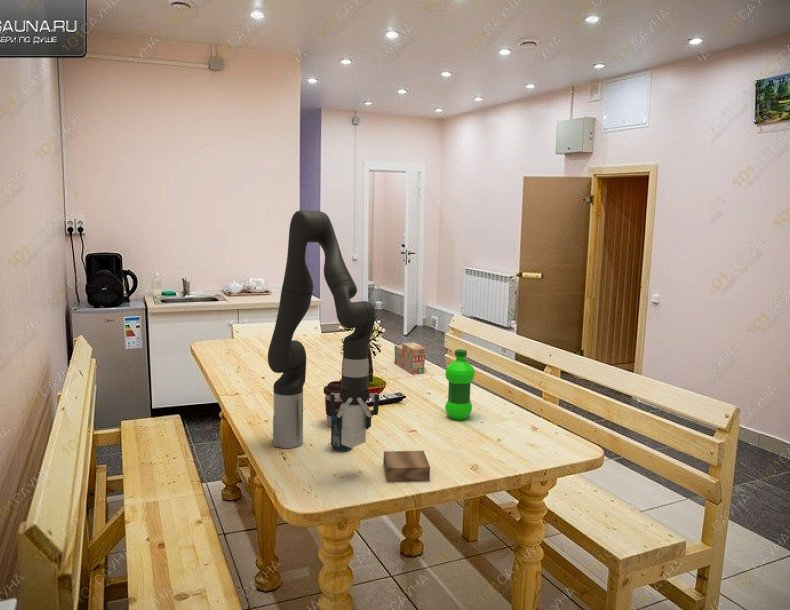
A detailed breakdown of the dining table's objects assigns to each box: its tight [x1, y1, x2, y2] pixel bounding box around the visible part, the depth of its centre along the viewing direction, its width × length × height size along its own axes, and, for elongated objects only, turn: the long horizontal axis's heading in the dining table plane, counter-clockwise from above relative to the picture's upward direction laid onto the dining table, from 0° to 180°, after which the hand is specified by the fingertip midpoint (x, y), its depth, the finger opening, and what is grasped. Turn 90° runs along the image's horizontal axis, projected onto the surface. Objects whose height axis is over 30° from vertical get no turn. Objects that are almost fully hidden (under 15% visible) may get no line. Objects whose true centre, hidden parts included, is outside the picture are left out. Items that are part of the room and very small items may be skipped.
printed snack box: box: [394, 341, 426, 376], centre depth 296 cm, size 21×6×12 cm, turn 23°
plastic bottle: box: [444, 349, 476, 421], centre depth 229 cm, size 10×10×25 cm
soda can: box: [330, 409, 352, 453], centre depth 199 cm, size 7×7×12 cm
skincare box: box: [341, 402, 367, 449], centre depth 179 cm, size 6×4×12 cm
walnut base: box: [382, 450, 431, 483], centre depth 183 cm, size 12×12×4 cm
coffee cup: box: [323, 380, 343, 428], centre depth 219 cm, size 10×10×15 cm
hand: (353, 428), depth 179 cm, fingers closed on skincare box, 7 cm apart
